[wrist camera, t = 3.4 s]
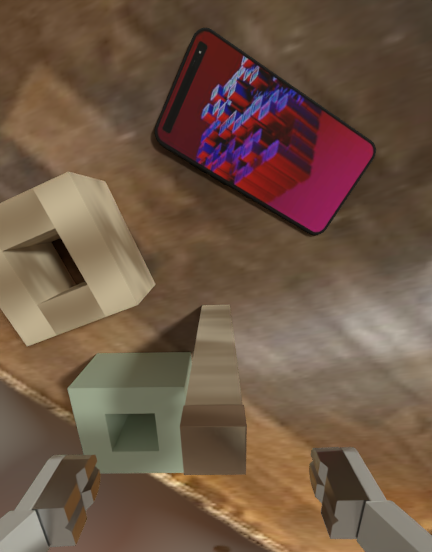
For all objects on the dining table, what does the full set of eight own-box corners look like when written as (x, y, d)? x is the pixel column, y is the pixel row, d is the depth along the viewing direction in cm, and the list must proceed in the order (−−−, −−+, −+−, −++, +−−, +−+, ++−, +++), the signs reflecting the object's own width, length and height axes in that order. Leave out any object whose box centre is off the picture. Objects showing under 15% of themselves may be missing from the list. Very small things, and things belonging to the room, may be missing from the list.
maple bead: (155, 284, 20) (138, 304, 16) (66, 318, 21) (27, 346, 17) (105, 181, 18) (68, 171, 13) (8, 224, 19) (-56, 228, 14)
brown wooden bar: (230, 330, 21) (245, 474, 10) (202, 330, 21) (183, 475, 10) (230, 304, 20) (246, 425, 9) (201, 304, 20) (179, 426, 9)
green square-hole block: (195, 425, 24) (190, 472, 20) (111, 426, 24) (88, 473, 20) (190, 351, 22) (184, 386, 17) (97, 353, 22) (67, 388, 18)
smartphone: (319, 240, 18) (149, 138, 16) (314, 238, 19) (152, 142, 17) (383, 146, 17) (199, 18, 14) (374, 149, 17) (200, 29, 15)
